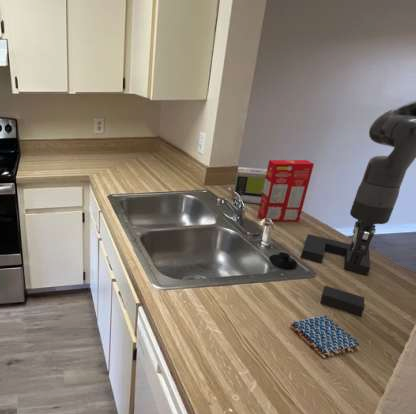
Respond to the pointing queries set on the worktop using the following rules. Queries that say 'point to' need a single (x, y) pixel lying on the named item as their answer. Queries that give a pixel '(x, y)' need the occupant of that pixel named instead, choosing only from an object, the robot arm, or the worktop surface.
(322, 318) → the woven mat
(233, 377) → the worktop surface
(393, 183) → the robot arm
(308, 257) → the socket pad
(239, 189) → the tea box
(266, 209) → the food packaging
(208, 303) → the worktop surface
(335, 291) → the plug pad
